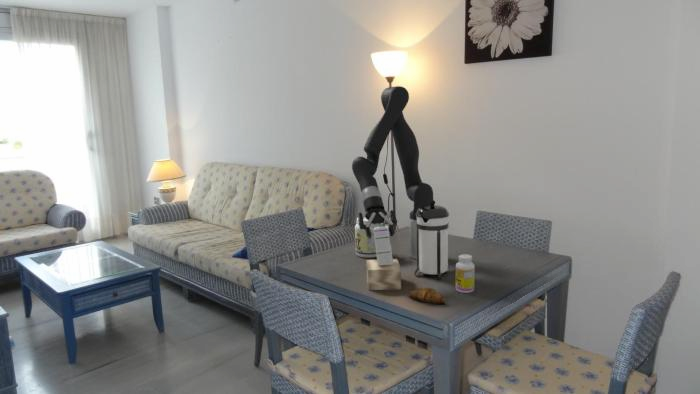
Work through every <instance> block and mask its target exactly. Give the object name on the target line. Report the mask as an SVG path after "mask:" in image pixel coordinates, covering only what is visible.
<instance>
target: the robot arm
mask: <svg viewBox="0 0 700 394" xmlns="http://www.w3.org/2000/svg"><path fill="white" fill-rule="evenodd" d="M380 100H381V105H382V108H383V111H384V113H383V115H382V116H381V118H380V119H379V121H378V122H377V123H376V125H375V126H374V127H373V129H371V131H370V133H369V136H368V137H367V139H366V142H365V143H364V147H363V151H364V152H365V154H366V157H364V156H356V157H355V158H354V159H353V161H352V163H351V164H352V165H351V170H352V173H353V175H354V177H355V179H356V181H357V183H358V184H359V189H360V192H361V200H362V203H363V208H364V213H362V212H359V213H358V217H357V218H358V220H359V227H360V229H364V230H365V231H366V235H367V237H369V239H370V238H371V231H370V225H371V224H372V223H373V224H388V226H389V233H390V237H394V235H395V233H396V231H395V227H397V223H398V220H397V217H396V214H395V211H394V210H392V209H391V210H390V211H386V209H385V206H384V201H383V198H382V195H381V191H380V190H379V186H378V181H377V179H376V177H375V174H376V172H377V170H378V168H379V167H378V166H379V161H380V154H381V151H382V150H383V148H384V145H385V143H386V141H387V139H388V137H389V134H390V132H391V134H392V139H393V142H394V147H395V150H396V153H397V157H398V159H399V164H400V167H401V170H402V174H403V180H404V186H405V192H406V196H407V197H408V199H409V200H410V201H411V202H413V210H411V211H410V212H409V256H410V258H412V259H416V260H417V227H416V222H417V216H416V212H417V210H418V209H419V208H420V207H422V206H426V205H430V203H429V202H430V201H431V200H434V191H433V187H432V186H431V185H430V184H429V183H426V182H423V181H422V179H421V175H420V171H419V159H420V149H419V144H418V141H417V138H416V136H415V133H414V132H413V130H412V128H411V126H410V125H409V124H408V122H407V121H406V119H405V116H404V113H403V111H404V109H405V108H406V107H407V104H408V102H409V100H410V93H409V91H408V89H406V88H405V87H404V86H402V85H401V86H399V85H395V86H388V87H386V88H384V89H383V91H382V92H381V95H380ZM364 217H365V218H366V219H367V220H368V222H367V224H366V225H364V223H363V219H364ZM388 217H389V218H390V219H389V218H388Z"/></svg>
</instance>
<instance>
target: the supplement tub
mask: <svg viewBox="0 0 700 394" xmlns="http://www.w3.org/2000/svg"><path fill="white" fill-rule="evenodd" d="M355 222H356V224H355V225H354V244H355V245H354V247H355V254H356V256H358V257H360V258H364V259H371V258H372V259H373V258H377V256H376V248H375V240H374V232H373V228H374V225H380V224H373V223H372V224H371V225H370V231H371V238H370V239H369V237H367V235H366V231H365V230H364V229H360V227H359V220H358V217H356V221H355ZM367 222H368V220H367V219H366V218H365V217H364V219H363V223H364V225H366V224H367Z"/></svg>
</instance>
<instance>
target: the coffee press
mask: <svg viewBox="0 0 700 394" xmlns="http://www.w3.org/2000/svg"><path fill="white" fill-rule="evenodd" d="M429 203H430V205H426V206H422V207H420V208H419V209H418V210H417V212H416V216H417V222H416V227H417V259H416V269H415V271H414V274H413V275H414V276H416V277H419V276H420V275H421V274H424V275H432V276H433V275H435V276H436V279H437V280H438V281H440V280H442V279H443V278H442V274H444V273H450V272H451V268H450V267H449V227H450V226H449V216H450V213H449V211H448V209H447V208H446V207H444V206H443V205H437V204H436V201H435V200H434V199H433V200H431V201H430V202H429Z"/></svg>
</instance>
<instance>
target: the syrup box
mask: <svg viewBox="0 0 700 394" xmlns="http://www.w3.org/2000/svg"><path fill="white" fill-rule="evenodd" d="M373 232H374V240H375V248H376V256H377V257H376V260H377V263H378V266H384V265H392V264H393V259H394V258H393V251H392V243H391V235H390V232H389V226H388V224H383V223H381V224H380V225H374V228H373Z"/></svg>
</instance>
